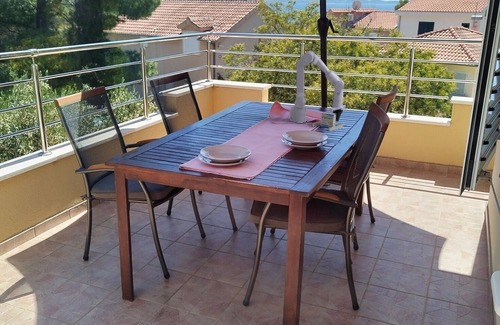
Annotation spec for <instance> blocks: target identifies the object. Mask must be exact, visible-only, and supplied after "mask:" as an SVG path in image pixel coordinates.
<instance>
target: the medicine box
mask: <svg viewBox="0 0 500 325" xmlns="http://www.w3.org/2000/svg"><path fill="white" fill-rule="evenodd" d="M336 122H337V121H336V113H332V112H327V111H324V112H322V113H321V125H320V127H322V128H328V129H329V127H332V126H335V125H336Z"/></svg>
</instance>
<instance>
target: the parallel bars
mask: <svg viewBox="0 0 500 325" xmlns="http://www.w3.org/2000/svg"><path fill="white" fill-rule="evenodd" d="M315 126H316V127H319V126H321V121H316V122H314V123H312V127H313V128H315ZM341 128H344V123H343V122H342V123H339V124H335V126H332V127H329V128H328V132H331V131H334V130H337V129H341Z"/></svg>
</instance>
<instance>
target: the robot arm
mask: <svg viewBox="0 0 500 325" xmlns="http://www.w3.org/2000/svg"><path fill="white" fill-rule="evenodd" d="M310 63H311V65H316V66H317V67H318V68H319V69H321V71H322V72H323V73H324V74H325V78H326V79H327V81H328V82H329V83H330V84H331V85H333V88H334V91H333V100H332V106H331V107H329V113H336V121H335V122H339V120H340V118H341V115H342V113H343V112H344V109H346V105H345V104H343V102H344V87H345V82H344V80H343V79H342V78H341V77H339V76H338V74H337V72H336V71H334V70H331V69H330V68H328V66H327V65H326V64H325V63H324V62H323V59H321V58H320V56H318V55H317V54H316V53H315V52H314V51H313V50H307V51H306V52H305V53H303V54H302V55H301V57H300V58H299V60H298V62H297V63H296V93H295V94H296V95H295V100H294V106H292V107H291V108H290V111H289V119H288V121H290V122H293V123H297V124H303V122H304V123H307V122H308V121H309V120H307V119H306V116H307V114H306V111H307V110H306V109H307V106H306V103H307V98H306V94H305V67H306V66H307V65H308V64H310ZM306 121H307V122H306Z"/></svg>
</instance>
